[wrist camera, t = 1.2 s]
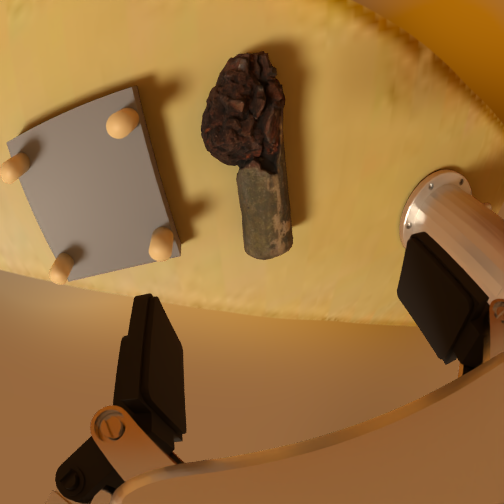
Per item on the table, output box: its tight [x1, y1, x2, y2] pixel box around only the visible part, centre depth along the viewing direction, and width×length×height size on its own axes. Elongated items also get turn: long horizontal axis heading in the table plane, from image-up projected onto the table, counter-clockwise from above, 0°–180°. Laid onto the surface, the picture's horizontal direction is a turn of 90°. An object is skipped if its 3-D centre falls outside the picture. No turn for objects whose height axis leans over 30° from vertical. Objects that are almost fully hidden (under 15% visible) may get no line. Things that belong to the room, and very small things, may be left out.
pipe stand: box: [0, 86, 181, 285], centre depth 23 cm, size 13×16×4 cm
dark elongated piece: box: [201, 51, 293, 260], centre depth 23 cm, size 18×7×6 cm, turn 7°
